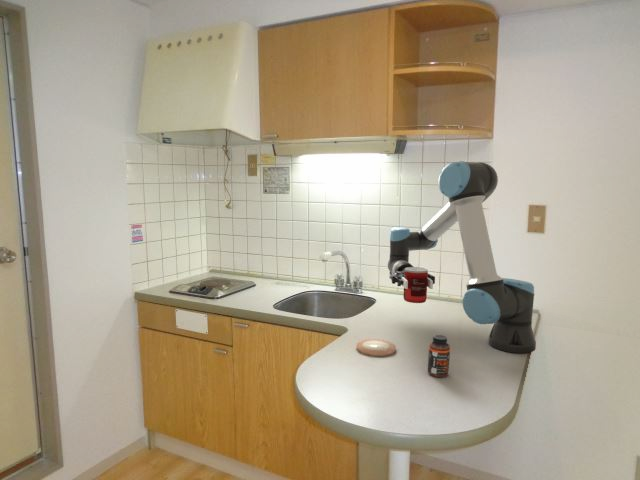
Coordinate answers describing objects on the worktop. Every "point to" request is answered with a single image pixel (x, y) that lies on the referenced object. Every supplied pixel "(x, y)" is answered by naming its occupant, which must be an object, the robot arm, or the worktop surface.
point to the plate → (376, 347)
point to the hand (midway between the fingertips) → (419, 284)
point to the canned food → (416, 284)
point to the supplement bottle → (439, 356)
